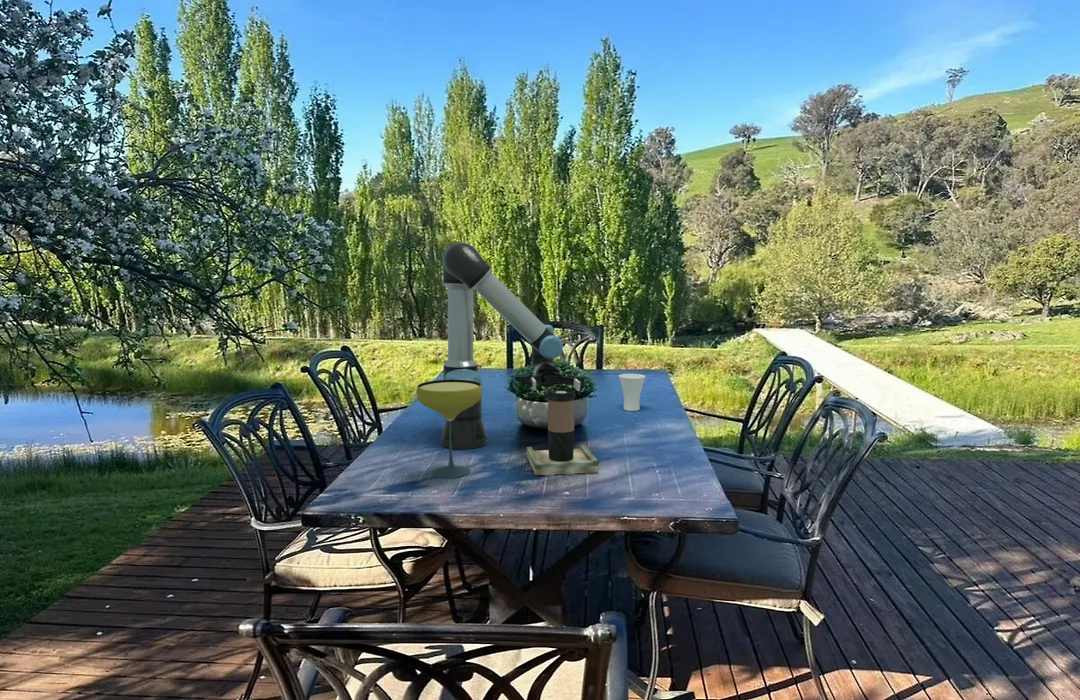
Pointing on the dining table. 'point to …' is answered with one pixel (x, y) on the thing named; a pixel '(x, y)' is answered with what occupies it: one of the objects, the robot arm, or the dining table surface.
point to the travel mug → (561, 424)
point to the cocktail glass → (449, 410)
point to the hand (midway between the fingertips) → (557, 386)
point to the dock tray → (579, 463)
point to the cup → (631, 390)
